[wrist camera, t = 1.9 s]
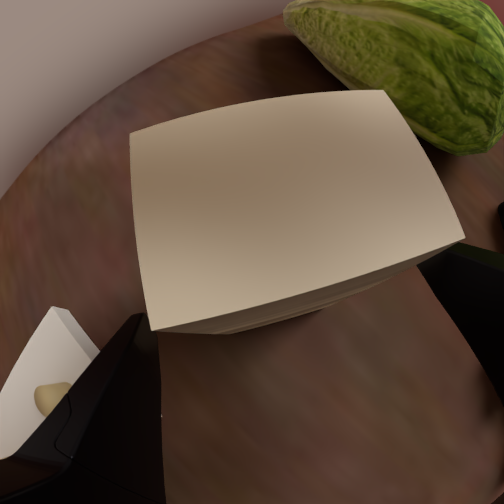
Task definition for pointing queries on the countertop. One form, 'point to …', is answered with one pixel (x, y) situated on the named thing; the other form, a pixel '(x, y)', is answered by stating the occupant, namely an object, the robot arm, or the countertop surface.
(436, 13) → the lettuce
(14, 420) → the white peg rack
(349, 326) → the countertop surface
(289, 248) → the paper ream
